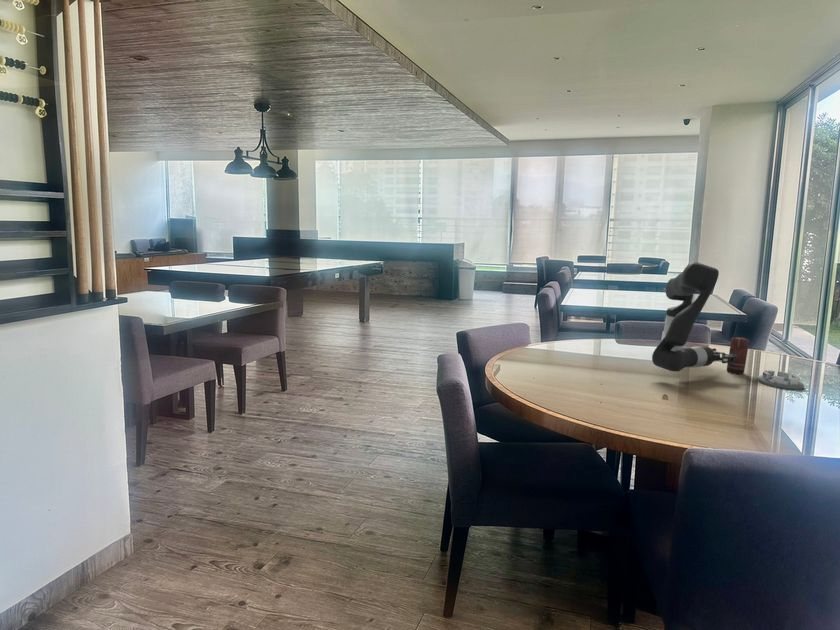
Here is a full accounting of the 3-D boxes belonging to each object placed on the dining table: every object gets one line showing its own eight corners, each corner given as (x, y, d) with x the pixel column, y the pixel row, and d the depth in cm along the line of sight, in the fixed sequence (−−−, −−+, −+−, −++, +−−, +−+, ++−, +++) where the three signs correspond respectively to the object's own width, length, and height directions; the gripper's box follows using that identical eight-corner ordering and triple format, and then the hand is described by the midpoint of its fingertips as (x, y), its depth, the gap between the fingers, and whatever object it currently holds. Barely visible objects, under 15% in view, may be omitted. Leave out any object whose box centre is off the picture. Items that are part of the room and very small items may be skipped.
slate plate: (765, 386, 207) (765, 384, 207) (750, 376, 222) (751, 373, 222) (811, 391, 205) (811, 389, 204) (793, 380, 219) (793, 378, 219)
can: (726, 372, 225) (731, 337, 222) (726, 369, 230) (731, 335, 228) (744, 375, 222) (749, 340, 220) (743, 372, 228) (749, 337, 225)
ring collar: (769, 383, 209) (770, 376, 208) (758, 375, 220) (759, 369, 219) (803, 387, 206) (804, 380, 206) (790, 378, 217) (791, 372, 217)
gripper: (716, 351, 207) (744, 348, 214) (682, 342, 219) (710, 340, 226) (713, 371, 208) (741, 368, 215) (679, 361, 220) (707, 358, 228)
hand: (725, 353), depth 221 cm, fingers open, 8 cm apart
